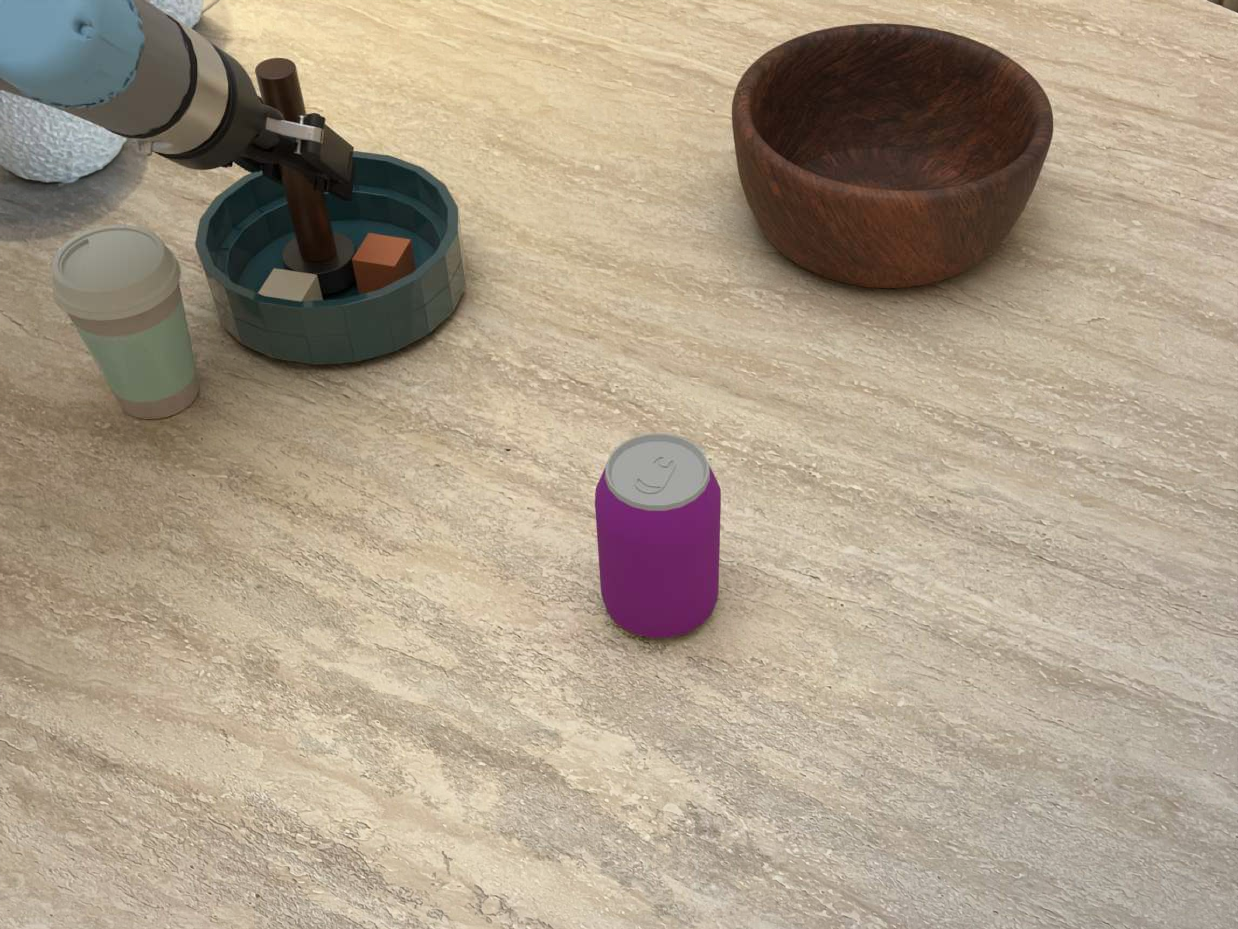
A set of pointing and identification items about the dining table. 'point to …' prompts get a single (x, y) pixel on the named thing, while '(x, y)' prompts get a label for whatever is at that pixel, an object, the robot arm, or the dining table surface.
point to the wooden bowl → (888, 151)
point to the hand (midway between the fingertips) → (327, 179)
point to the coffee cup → (129, 316)
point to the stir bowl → (345, 321)
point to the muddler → (305, 193)
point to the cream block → (292, 286)
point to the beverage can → (658, 535)
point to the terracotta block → (382, 261)
